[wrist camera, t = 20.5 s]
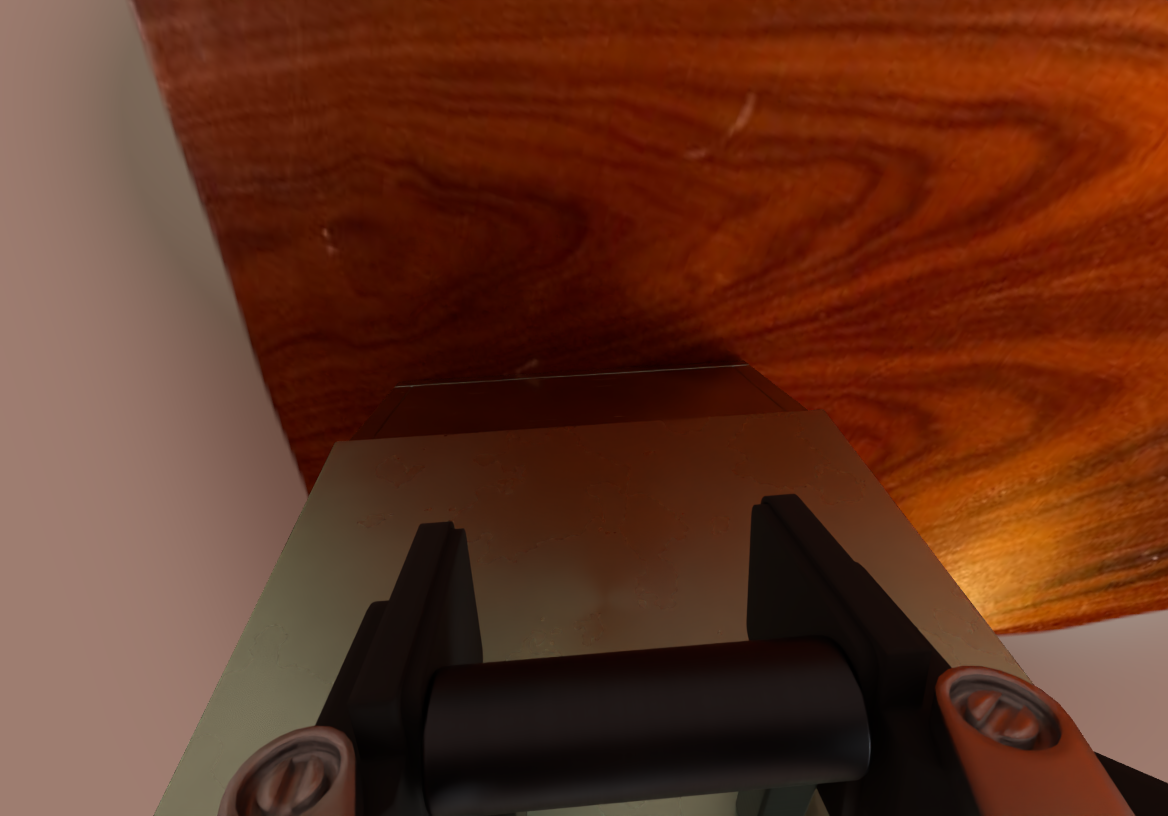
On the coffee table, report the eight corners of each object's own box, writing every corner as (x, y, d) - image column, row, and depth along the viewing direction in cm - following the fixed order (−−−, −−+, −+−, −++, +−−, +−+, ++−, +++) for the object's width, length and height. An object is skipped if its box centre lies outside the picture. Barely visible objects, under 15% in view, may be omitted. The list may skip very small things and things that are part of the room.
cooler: (733, 590, 30) (788, 703, 23) (435, 614, 30) (402, 737, 23) (744, 359, 26) (815, 414, 19) (398, 381, 25) (343, 445, 19)
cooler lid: (1232, 1005, 8) (1575, 858, 5) (33, 1144, 7) (-340, 1063, 4) (818, 428, 19) (853, 285, 16) (341, 461, 18) (293, 317, 16)
